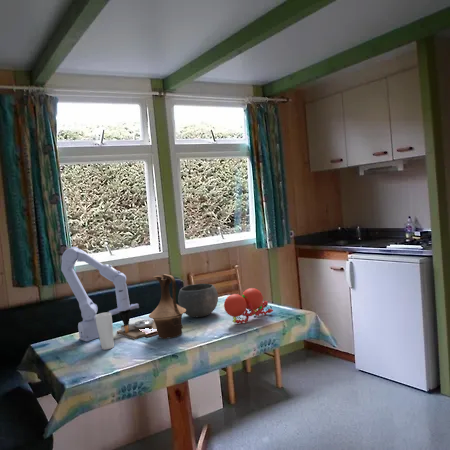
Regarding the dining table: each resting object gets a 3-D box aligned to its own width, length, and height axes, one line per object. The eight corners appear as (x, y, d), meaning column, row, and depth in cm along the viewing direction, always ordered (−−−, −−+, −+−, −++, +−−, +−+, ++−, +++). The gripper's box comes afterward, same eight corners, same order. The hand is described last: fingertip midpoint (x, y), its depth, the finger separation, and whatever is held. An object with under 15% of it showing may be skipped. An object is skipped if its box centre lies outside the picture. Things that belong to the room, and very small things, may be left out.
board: (135, 339, 208) (134, 334, 208) (116, 333, 220) (116, 329, 220) (171, 326, 221) (170, 322, 221) (152, 321, 234) (151, 317, 234)
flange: (151, 322, 226) (151, 317, 226) (154, 326, 218) (153, 321, 217) (120, 328, 222) (120, 323, 222) (122, 333, 213) (121, 328, 213)
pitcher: (197, 331, 208) (189, 270, 206) (168, 343, 196) (160, 279, 194) (172, 327, 220) (164, 269, 218) (143, 338, 208) (135, 277, 206)
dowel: (126, 333, 215) (125, 326, 215) (124, 332, 216) (123, 326, 216) (129, 332, 216) (128, 325, 216) (127, 331, 218) (126, 325, 217)
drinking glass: (107, 351, 196) (102, 317, 194) (96, 350, 199) (91, 316, 198) (119, 345, 201) (114, 312, 200) (108, 344, 205) (103, 311, 204)
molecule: (242, 329, 203) (231, 296, 204) (227, 331, 211) (216, 299, 212) (279, 310, 219) (268, 280, 220) (264, 313, 227) (254, 284, 229)
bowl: (205, 322, 221) (201, 292, 220) (172, 320, 232) (168, 291, 231) (227, 310, 238) (223, 282, 237) (195, 309, 249) (191, 282, 248)
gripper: (132, 294, 227) (136, 320, 228) (105, 301, 219) (109, 328, 220) (139, 295, 222) (143, 323, 223) (110, 303, 213) (115, 331, 214)
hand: (126, 326), depth 221 cm, fingers closed
